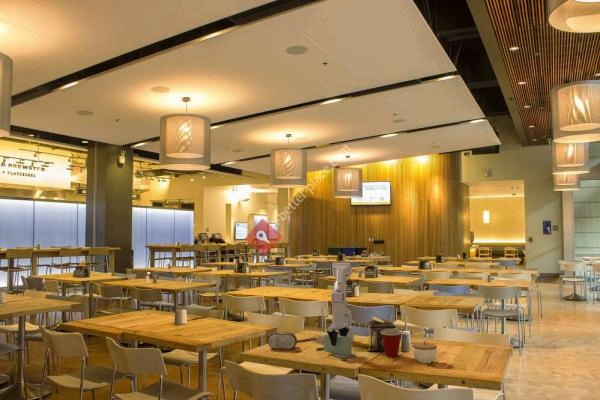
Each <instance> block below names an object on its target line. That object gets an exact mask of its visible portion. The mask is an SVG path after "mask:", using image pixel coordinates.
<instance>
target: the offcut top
mask: <svg viewBox="0 0 600 400" xmlns="http://www.w3.org/2000/svg"><path fill="white" fill-rule="evenodd" d="M325 334H326V333H323V334H318V338H319V339H322V340H324V335H325Z"/></svg>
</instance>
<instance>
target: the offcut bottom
mask: <svg viewBox="0 0 600 400" xmlns="http://www.w3.org/2000/svg"><path fill="white" fill-rule="evenodd" d="M315 338H316V340H315V341H316V342H318V343H321V344H324V340H322V339H319V337H315ZM318 343H317V344H318ZM321 344H320V345H321Z"/></svg>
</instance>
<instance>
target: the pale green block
mask: <svg viewBox="0 0 600 400" xmlns="http://www.w3.org/2000/svg"><path fill="white" fill-rule="evenodd" d="M324 334H325V335H324V345H323V347H324V350H323V351H324V352H329V353H332V354H335V353H337V354H343V355H351V354H353V353H352V349H353V348H352V337H346V336H339V335H337V341H336V346H332V345H331V341H330V337H329V335H328V333H324Z"/></svg>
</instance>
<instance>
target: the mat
mask: <svg viewBox="0 0 600 400" xmlns="http://www.w3.org/2000/svg"><path fill="white" fill-rule="evenodd" d="M328 356H330V357H331V356H332V357H334V358H337V359H340V360H344V359H351V358H357V354H354V353H352V354H351V355H343V354H337V353H329V354H328Z"/></svg>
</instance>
